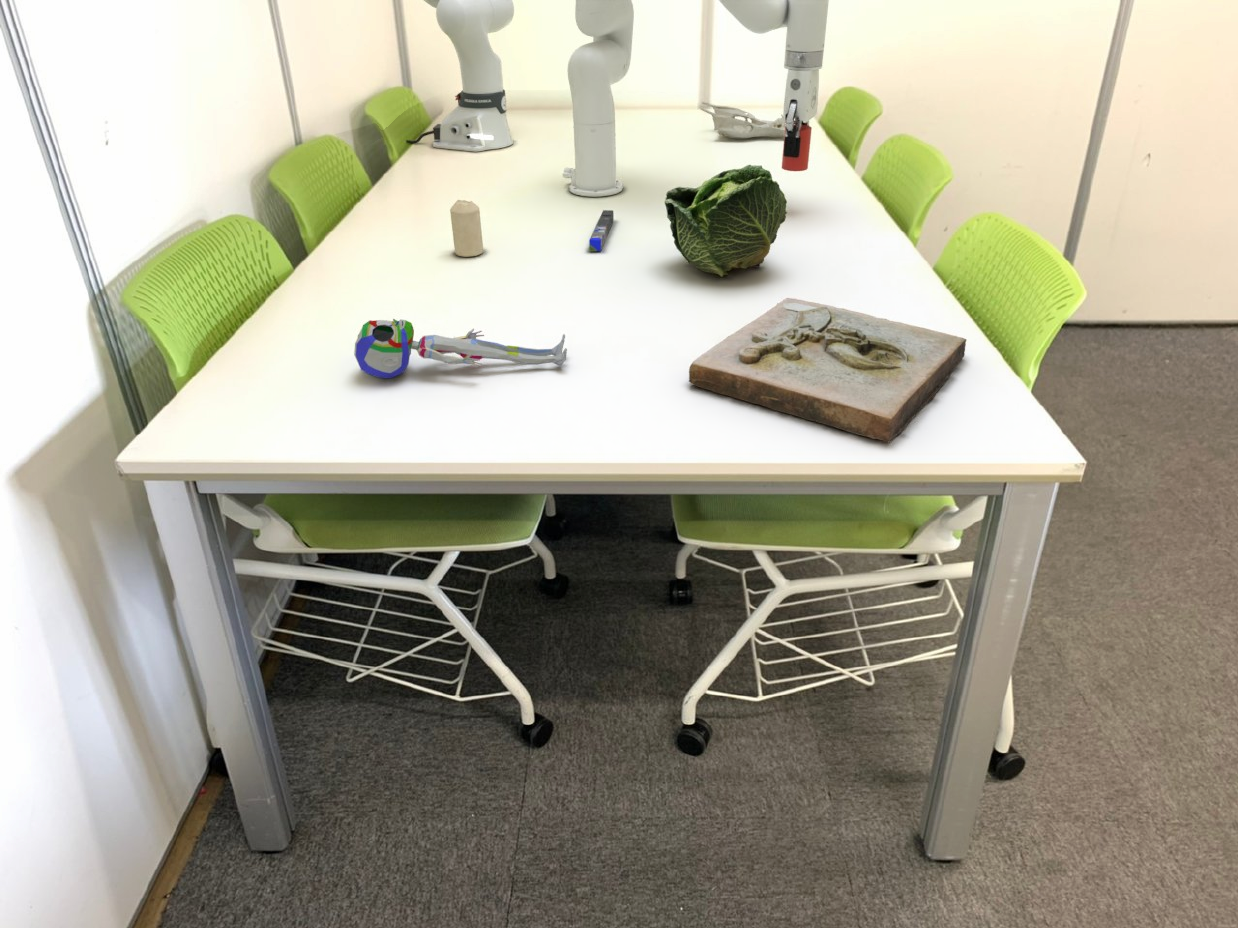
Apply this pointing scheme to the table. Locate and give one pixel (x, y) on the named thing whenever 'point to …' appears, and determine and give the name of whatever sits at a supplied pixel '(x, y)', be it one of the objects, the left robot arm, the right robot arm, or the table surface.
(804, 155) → the canister
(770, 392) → the plaque
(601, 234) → the pillar
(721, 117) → the anatomical model
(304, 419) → the table surface
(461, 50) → the left robot arm
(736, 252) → the vegetable
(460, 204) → the candle
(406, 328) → the toy
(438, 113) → the table surface
